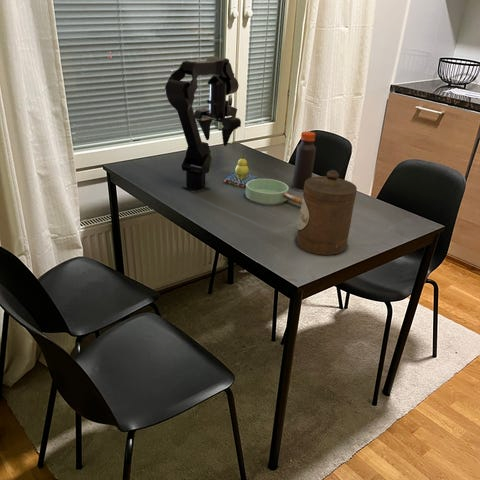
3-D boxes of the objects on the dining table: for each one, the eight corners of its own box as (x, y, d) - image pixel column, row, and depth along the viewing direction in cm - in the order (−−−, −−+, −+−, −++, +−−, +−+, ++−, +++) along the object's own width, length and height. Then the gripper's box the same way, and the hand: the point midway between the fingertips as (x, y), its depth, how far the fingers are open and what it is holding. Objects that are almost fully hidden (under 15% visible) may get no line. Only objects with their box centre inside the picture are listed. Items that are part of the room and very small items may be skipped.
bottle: (301, 192, 181) (308, 136, 170) (288, 186, 185) (295, 131, 174) (313, 189, 185) (322, 134, 173) (300, 183, 189) (308, 129, 178)
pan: (268, 208, 166) (270, 197, 164) (236, 195, 174) (237, 184, 172) (295, 198, 176) (297, 187, 173) (264, 186, 184) (265, 175, 181)
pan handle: (309, 208, 163) (310, 203, 162) (281, 198, 169) (282, 192, 168) (313, 207, 164) (314, 201, 163) (285, 196, 170) (285, 191, 169)
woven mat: (246, 189, 180) (247, 184, 179) (222, 183, 184) (222, 177, 183) (259, 181, 188) (260, 176, 187) (235, 175, 192) (236, 170, 191)
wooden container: (303, 229, 154) (314, 159, 141) (350, 239, 150) (365, 168, 138) (290, 248, 143) (300, 174, 130) (340, 260, 139) (355, 184, 126)
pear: (241, 180, 182) (243, 158, 177) (232, 176, 185) (233, 154, 180) (250, 177, 185) (252, 155, 180) (241, 174, 188) (242, 152, 183)
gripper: (252, 100, 172) (249, 145, 181) (215, 90, 182) (214, 133, 191) (231, 103, 165) (228, 150, 174) (193, 93, 175) (193, 138, 184)
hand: (216, 142), depth 181 cm, fingers open, 9 cm apart
